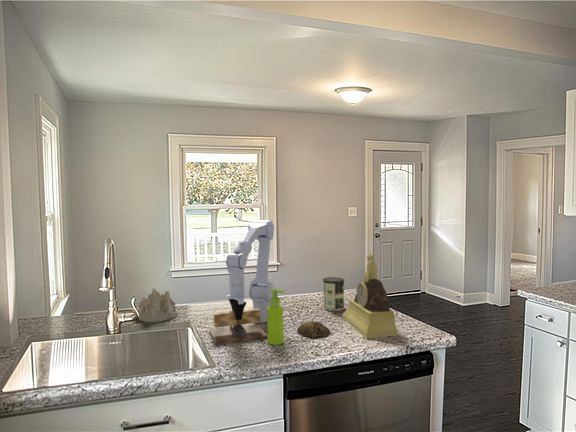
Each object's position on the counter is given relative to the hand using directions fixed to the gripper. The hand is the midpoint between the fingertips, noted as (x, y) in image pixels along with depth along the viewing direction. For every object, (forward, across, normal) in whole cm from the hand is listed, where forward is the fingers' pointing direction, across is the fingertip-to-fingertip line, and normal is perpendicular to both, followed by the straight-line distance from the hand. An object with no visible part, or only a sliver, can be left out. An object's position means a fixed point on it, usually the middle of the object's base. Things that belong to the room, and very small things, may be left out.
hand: (237, 318), depth 170 cm
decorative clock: (+7, +8, +53) cm, 54 cm away
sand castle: (+7, -39, -29) cm, 49 cm away
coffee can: (+7, -23, +52) cm, 57 cm away
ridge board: (+7, 0, 0) cm, 7 cm away
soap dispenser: (+7, +13, +12) cm, 19 cm away
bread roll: (+8, +8, +29) cm, 31 cm away
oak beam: (+2, 0, 0) cm, 2 cm away
